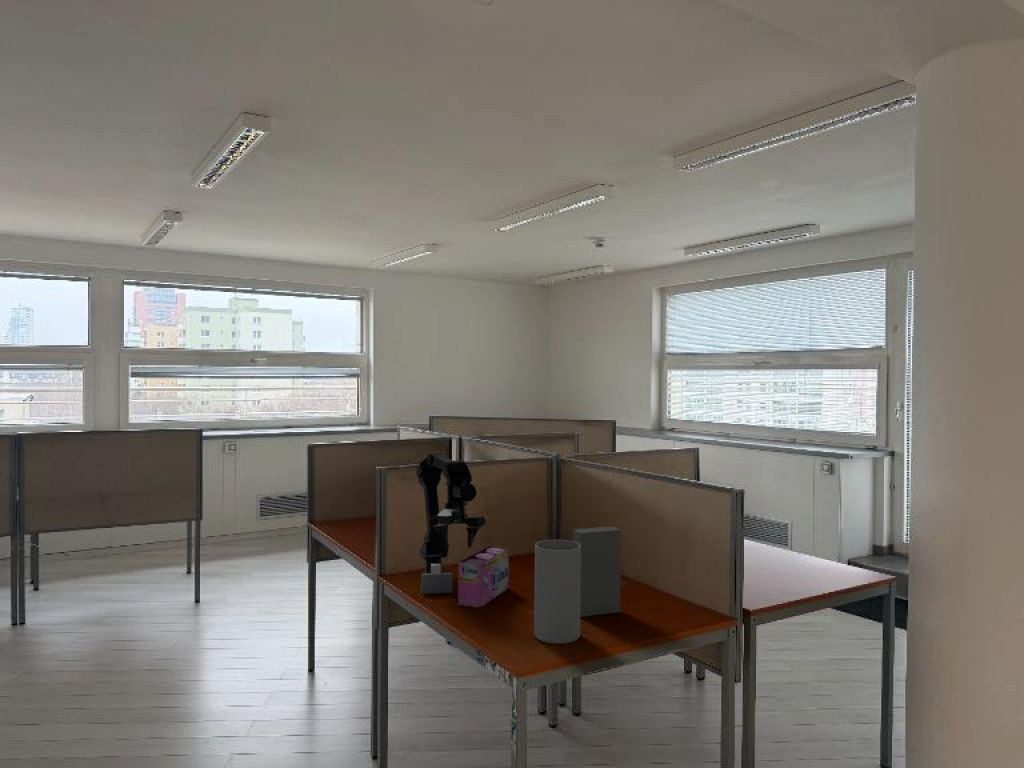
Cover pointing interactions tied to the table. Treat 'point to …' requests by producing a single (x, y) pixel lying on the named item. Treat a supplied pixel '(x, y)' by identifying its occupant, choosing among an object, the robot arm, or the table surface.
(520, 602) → the table surface
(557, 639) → the cylinder vase
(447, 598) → the table surface
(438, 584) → the pusher
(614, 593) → the upright grey panel
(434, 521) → the robot arm
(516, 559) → the table surface
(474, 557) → the gum box
